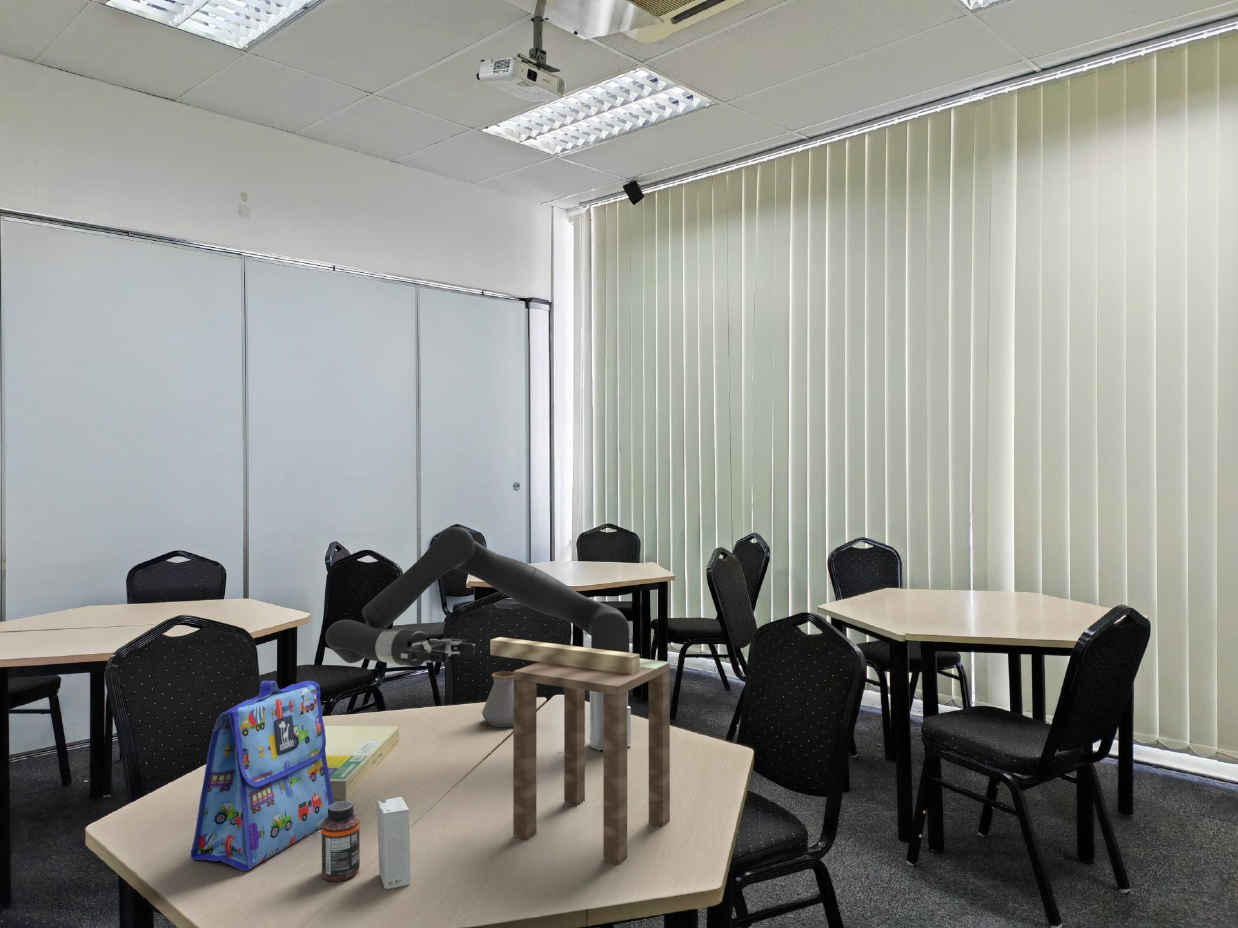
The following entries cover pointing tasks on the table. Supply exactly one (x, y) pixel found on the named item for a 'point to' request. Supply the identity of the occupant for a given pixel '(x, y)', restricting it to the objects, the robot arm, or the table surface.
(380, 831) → the skincare box
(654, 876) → the table surface
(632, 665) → the maple rod
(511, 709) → the coffee pot
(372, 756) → the puzzle box
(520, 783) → the walnut stand
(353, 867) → the supplement bottle
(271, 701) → the lunch bag
